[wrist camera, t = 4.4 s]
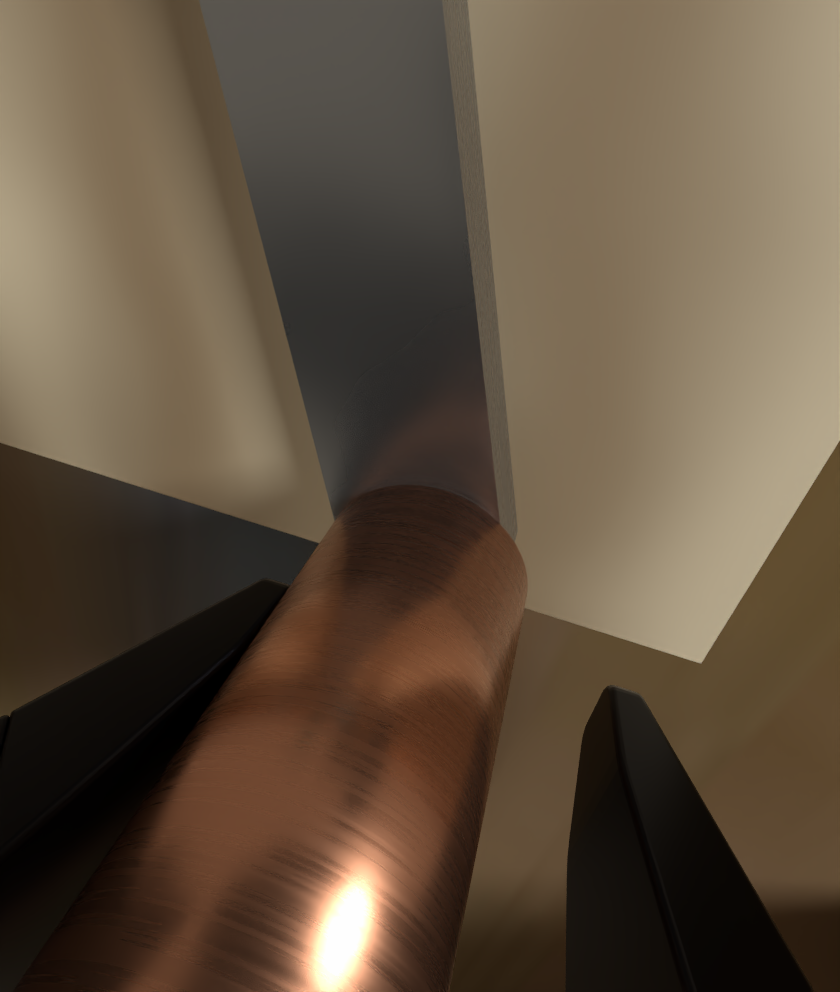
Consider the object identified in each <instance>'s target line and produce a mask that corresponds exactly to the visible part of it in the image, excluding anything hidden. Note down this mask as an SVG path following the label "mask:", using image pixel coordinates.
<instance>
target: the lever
mask: <svg viewBox="0 0 840 992" xmlns="http://www.w3.org/2000/svg"><path fill="white" fill-rule="evenodd" d="M199 2H200V6H201V10H202V14H203V18H204V22H205V25H206V29H207V33H208V37H209V41H210V45H211V48H212V52H213V56H214V60H215V64H216V68H217V71H218V75H219V79H220V83H221V87H222V91H223V95H224V98H225V102H226V106H227V110H228V114H229V118H230V121H231V125H232V129H233V133H234V137H235V141H236V144H237V148H238V152H239V156H240V160H241V164H242V168H243V171H244V175H245V179H246V183H247V187H248V191H249V194H250V198H251V202H252V206H253V210H254V214H255V218H256V221H257V225H258V229H259V233H260V237H261V241H262V244H263V248H264V252H265V256H266V260H267V264H268V267H269V271H270V275H271V279H272V283H273V287H274V291H275V294H276V298H277V302H278V306H279V310H280V314H281V317H282V321H283V325H284V329H285V333H286V337H287V341H288V344H289V348H290V352H291V356H292V360H293V364H294V367H295V371H296V375H297V379H298V383H299V387H300V390H301V394H302V398H303V402H304V406H305V410H306V414H307V417H308V421H309V425H310V429H311V433H312V437H313V440H314V444H315V448H316V452H317V456H318V460H319V463H320V467H321V471H322V475H323V479H324V483H325V487H326V490H327V494H328V498H329V502H330V506H331V510H332V513H333V517H334V523H333V524H332V526H331V527H330V529H329V530H328V531H327V533H326V534H325V536H324V537H323V539H322V540H321V542H320V543H319V545H318V546H317V548H316V549H315V550H314V552H313V553H312V555H311V556H310V558H309V559H308V561H307V562H306V564H305V565H304V567H303V568H302V569H301V571H300V572H299V574H298V575H297V577H296V578H295V580H294V581H293V583H292V584H291V585H290V587H289V588H288V590H287V591H286V593H285V594H284V596H283V597H282V599H281V600H280V602H279V603H278V604H277V606H276V607H275V609H274V610H273V612H272V613H271V615H270V616H269V618H268V619H267V621H266V622H265V623H264V625H263V626H262V628H261V629H260V631H259V632H258V634H257V635H256V637H255V638H254V640H253V641H252V642H251V644H250V645H249V647H248V648H247V650H246V651H245V653H244V654H243V656H242V657H241V658H240V660H239V661H238V663H237V664H236V666H235V667H234V669H233V670H232V672H231V673H230V675H229V676H228V677H227V679H226V680H225V682H224V683H223V685H222V686H221V688H220V689H219V691H218V692H217V694H216V695H215V696H214V698H213V699H212V701H211V702H210V704H209V705H208V707H207V708H206V710H205V711H204V713H203V714H202V715H201V717H200V718H199V720H198V721H197V723H196V724H195V726H194V727H193V729H192V730H191V731H190V733H189V734H188V736H187V737H186V739H185V740H184V742H183V743H182V745H181V746H180V748H179V749H178V750H177V752H176V753H175V755H174V756H173V758H172V759H171V761H170V762H169V764H168V765H167V767H166V768H165V769H164V771H163V772H162V774H161V775H160V777H159V778H158V780H157V781H156V783H155V784H154V786H153V787H152V788H151V790H150V791H149V793H148V794H147V796H146V797H145V799H144V800H143V802H142V803H141V804H140V806H139V807H138V809H137V810H136V812H135V813H134V815H133V816H132V818H131V819H130V821H129V822H128V823H127V825H126V826H125V828H124V829H123V831H122V832H121V834H120V835H119V837H118V838H117V840H116V841H115V842H114V844H113V845H112V847H111V848H110V850H109V851H108V853H107V854H106V856H105V857H104V859H103V860H102V861H101V863H100V864H99V866H98V867H97V869H96V870H95V872H94V873H93V875H92V876H91V878H90V879H89V880H88V882H87V883H86V885H85V886H84V888H83V889H82V891H81V892H80V894H79V895H78V896H77V898H76V899H75V901H74V902H73V904H72V905H71V907H70V908H69V910H68V911H67V913H66V914H65V915H64V917H63V918H62V920H61V921H60V923H59V924H58V926H57V927H56V929H55V930H54V932H53V933H52V934H51V936H50V937H49V939H48V940H47V942H46V943H45V945H44V946H43V948H42V949H41V951H40V952H39V953H38V955H37V956H36V958H35V959H34V961H33V962H32V964H31V965H30V967H29V968H28V969H27V971H26V972H25V974H24V975H23V977H22V978H21V980H20V981H19V983H18V984H17V986H16V987H15V988H14V990H13V991H12V992H449V990H450V985H451V980H452V975H453V970H454V964H455V959H456V954H457V949H458V944H459V939H460V934H461V929H462V924H463V919H464V914H465V908H466V903H467V898H468V893H469V888H470V883H471V878H472V873H473V868H474V863H475V858H476V852H477V847H478V842H479V837H480V832H481V827H482V822H483V817H484V812H485V807H486V802H487V797H488V791H489V786H490V781H491V776H492V771H493V766H494V761H495V756H496V751H497V746H498V741H499V735H500V730H501V725H502V720H503V715H504V710H505V705H506V700H507V695H508V690H509V685H510V679H511V674H512V669H513V664H514V659H515V654H516V649H517V644H518V639H519V634H520V629H521V624H522V618H523V613H524V608H525V603H526V598H527V591H528V578H527V572H526V567H525V564H524V561H523V558H522V555H521V553H520V551H519V549H518V547H517V545H516V544H515V540H516V536H517V532H518V527H517V516H516V506H515V495H514V485H513V474H512V464H511V453H510V443H509V432H508V422H507V411H506V401H505V390H504V379H503V369H502V358H501V348H500V337H499V327H498V316H497V306H496V295H495V285H494V274H493V264H492V253H491V243H490V232H489V222H488V211H487V201H486V190H485V179H484V169H483V158H482V148H481V137H480V127H479V116H478V106H477V95H476V85H475V74H474V64H473V53H472V43H471V32H470V22H469V11H468V0H199Z"/></svg>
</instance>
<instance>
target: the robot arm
mask: <svg viewBox="0 0 840 992" xmlns="http://www.w3.org/2000/svg"><path fill="white" fill-rule="evenodd" d="M289 587H290V585H288V584H285V583H281V582H278V581H275V580H272V579H267V578H265V579H261V580H259V581H257V582H255V583H253V584H251V585H249V586H248V587H246V588H244V589H242V590H240V591H238V592H236V593H234V594H232V595H231V596H229V597H227V598H225V599H223V600H221V601H219V602H217V603H215V604H214V605H212V606H210V607H208V608H206V609H204V610H202V611H200V612H198V613H197V614H195V615H193V616H191V617H189V618H187V619H185V620H183V621H182V622H180V623H178V624H176V625H174V626H172V627H170V628H168V629H166V630H165V631H163V632H161V633H159V634H157V635H155V636H153V637H151V638H149V639H148V640H146V641H144V642H142V643H140V644H138V645H136V646H134V647H132V648H131V649H129V650H127V651H125V652H123V653H121V654H119V655H117V656H116V657H114V658H112V659H110V660H108V661H106V662H104V663H102V664H100V665H99V666H97V667H95V668H93V669H91V670H89V671H87V672H85V673H83V674H82V675H80V676H78V677H76V678H74V679H72V680H70V681H68V682H66V683H65V684H63V685H61V686H59V687H57V688H55V689H53V690H51V691H49V692H48V693H46V694H44V695H42V696H40V697H38V698H36V699H34V700H33V701H31V702H29V703H27V704H25V705H23V706H21V707H19V708H17V709H16V710H14V711H12V713H11V715H10V717H9V716H7V715H4V716H2V717H0V992H12V991H13V990H14V988H15V987H16V986H17V984H18V983H19V981H20V980H21V978H22V977H23V975H24V974H25V972H26V971H27V969H28V968H29V967H30V965H31V964H32V962H33V961H34V959H35V958H36V956H37V955H38V953H39V952H40V951H41V949H42V948H43V946H44V945H45V943H46V942H47V940H48V939H49V937H50V936H51V934H52V933H53V932H54V930H55V929H56V927H57V926H58V924H59V923H60V921H61V920H62V918H63V917H64V915H65V914H66V913H67V911H68V910H69V908H70V907H71V905H72V904H73V902H74V901H75V899H76V898H77V896H78V895H79V894H80V892H81V891H82V889H83V888H84V886H85V885H86V883H87V882H88V880H89V879H90V878H91V876H92V875H93V873H94V872H95V870H96V869H97V867H98V866H99V864H100V863H101V861H102V860H103V859H104V857H105V856H106V854H107V853H108V851H109V850H110V848H111V847H112V845H113V844H114V842H115V841H116V840H117V838H118V837H119V835H120V834H121V832H122V831H123V829H124V828H125V826H126V825H127V823H128V822H129V821H130V819H131V818H132V816H133V815H134V813H135V812H136V810H137V809H138V807H139V806H140V804H141V803H142V802H143V800H144V799H145V797H146V796H147V794H148V793H149V791H150V790H151V788H152V787H153V786H154V784H155V783H156V781H157V780H158V778H159V777H160V775H161V774H162V772H163V771H164V769H165V768H166V767H167V765H168V764H169V762H170V761H171V759H172V758H173V756H174V755H175V753H176V752H177V750H178V749H179V748H180V746H181V745H182V743H183V742H184V740H185V739H186V737H187V736H188V734H189V733H190V731H191V730H192V729H193V727H194V726H195V724H196V723H197V721H198V720H199V718H200V717H201V715H202V714H203V713H204V711H205V710H206V708H207V707H208V705H209V704H210V702H211V701H212V699H213V698H214V696H215V695H216V694H217V692H218V691H219V689H220V688H221V686H222V685H223V683H224V682H225V680H226V679H227V677H228V676H229V675H230V673H231V672H232V670H233V669H234V667H235V666H236V664H237V663H238V661H239V660H240V658H241V657H242V656H243V654H244V653H245V651H246V650H247V648H248V647H249V645H250V644H251V642H252V641H253V640H254V638H255V637H256V635H257V634H258V632H259V631H260V629H261V628H262V626H263V625H264V623H265V622H266V621H267V619H268V618H269V616H270V615H271V613H272V612H273V610H274V609H275V607H276V606H277V604H278V603H279V602H280V600H281V599H282V597H283V596H284V594H285V593H286V591H287V590H288V588H289ZM565 992H813V989H812V987H811V985H810V983H809V982H808V980H807V978H806V976H805V975H804V973H803V971H802V970H801V968H800V966H799V964H798V963H797V961H796V959H795V958H794V956H793V954H792V952H791V951H790V949H789V947H788V946H787V944H786V942H785V940H784V939H783V937H782V935H781V934H780V932H779V930H778V928H777V927H776V925H775V923H774V922H773V920H772V918H771V916H770V915H769V913H768V911H767V910H766V908H765V906H764V904H763V903H762V901H761V899H760V898H759V896H758V894H757V892H756V891H755V889H754V887H753V886H752V884H751V882H750V880H749V879H748V877H747V875H746V874H745V872H744V870H743V868H742V867H741V865H740V863H739V862H738V860H737V858H736V856H735V855H734V853H733V851H732V850H731V848H730V846H729V844H728V843H727V841H726V839H725V838H724V836H723V834H722V832H721V831H720V829H719V827H718V826H717V824H716V822H715V820H714V819H713V817H712V815H711V814H710V812H709V810H708V808H707V807H706V805H705V803H704V802H703V800H702V798H701V796H700V795H699V793H698V791H697V790H696V788H695V786H694V784H693V783H692V781H691V779H690V778H689V776H688V774H687V772H686V771H685V769H684V767H683V766H682V764H681V762H680V760H679V759H678V757H677V755H676V754H675V752H674V750H673V748H672V747H671V745H670V743H669V742H668V740H667V738H666V736H665V735H664V733H663V731H662V730H661V728H660V726H659V724H658V723H657V721H656V719H655V718H654V716H653V714H652V712H651V711H650V709H649V707H648V706H647V704H646V702H645V700H644V699H643V697H642V696H641V695H640V694H638V693H636V692H634V691H631V690H627V689H624V688H621V687H618V686H614V685H610V686H607V687H606V688H605V689H604V691H603V692H602V694H601V696H600V698H599V700H598V702H597V704H596V706H595V708H594V710H593V712H592V714H591V716H590V718H589V720H588V722H587V724H586V727H585V730H584V734H583V738H582V744H581V752H580V760H579V767H578V775H577V783H576V791H575V799H574V807H573V815H572V823H571V831H570V839H569V848H568V860H567V903H566V989H565Z"/></svg>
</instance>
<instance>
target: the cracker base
mask: <svg viewBox="0 0 840 992" xmlns="http://www.w3.org/2000/svg"><path fill="white" fill-rule="evenodd" d="M468 11H469V22H470V32H471V43H472V53H473V64H474V74H475V85H476V95H477V106H478V116H479V127H480V137H481V148H482V158H483V169H484V179H485V190H486V201H487V211H488V222H489V232H490V243H491V253H492V264H493V274H494V285H495V295H496V306H497V316H498V327H499V337H500V348H501V358H502V369H503V379H504V390H505V401H506V411H507V422H508V432H509V443H510V453H511V464H512V474H513V485H514V495H515V506H516V516H517V527H518V532H517V536H516V540H515V544H516V545H517V547H518V549H519V551H520V553H521V555H522V558H523V561H524V564H525V567H526V572H527V578H528V591H527V598H526V603H525V608H526V609H530V610H533V611H536V612H539V613H542V614H545V615H549V616H552V617H555V618H558V619H561V620H564V621H568V622H571V623H574V624H577V625H580V626H584V627H587V628H590V629H593V630H596V631H599V632H603V633H606V634H609V635H612V636H615V637H618V638H622V639H625V640H628V641H631V642H634V643H637V644H641V645H644V646H647V647H650V648H653V649H657V650H660V651H663V652H666V653H669V654H672V655H676V656H679V657H682V658H685V659H688V660H691V661H695V662H698V663H702V661H703V660H704V658H705V656H706V655H707V653H708V652H709V650H710V648H711V647H712V645H713V643H714V642H715V640H716V639H717V637H718V635H719V634H720V632H721V631H722V629H723V627H724V626H725V624H726V623H727V621H728V619H729V618H730V616H731V614H732V613H733V611H734V610H735V608H736V606H737V605H738V603H739V602H740V600H741V598H742V597H743V595H744V594H745V592H746V590H747V589H748V587H749V585H750V584H751V582H752V581H753V579H754V577H755V576H756V574H757V573H758V571H759V569H760V568H761V566H762V565H763V563H764V561H765V560H766V558H767V556H768V555H769V553H770V552H771V550H772V548H773V547H774V545H775V544H776V542H777V540H778V539H779V537H780V536H781V534H782V532H783V531H784V529H785V527H786V526H787V524H788V523H789V521H790V519H791V518H792V516H793V515H794V513H795V511H796V510H797V508H798V507H799V505H800V503H801V502H802V500H803V498H804V497H805V495H806V494H807V492H808V490H809V489H810V487H811V486H812V484H813V482H814V481H815V479H816V478H817V476H818V474H819V473H820V471H821V469H822V468H823V466H824V465H825V463H826V461H827V460H828V458H829V457H830V455H831V453H832V452H833V450H834V449H835V447H836V445H837V444H838V442H839V440H840V0H468ZM0 443H3V444H6V445H9V446H12V447H15V448H18V449H22V450H25V451H28V452H31V453H34V454H37V455H41V456H44V457H47V458H50V459H53V460H56V461H60V462H63V463H66V464H69V465H72V466H76V467H79V468H82V469H85V470H88V471H91V472H95V473H98V474H101V475H104V476H107V477H110V478H114V479H117V480H120V481H123V482H126V483H130V484H133V485H136V486H139V487H142V488H145V489H149V490H152V491H155V492H158V493H161V494H164V495H168V496H171V497H174V498H177V499H180V500H183V501H187V502H190V503H193V504H196V505H199V506H203V507H206V508H209V509H212V510H215V511H218V512H222V513H225V514H228V515H231V516H234V517H237V518H241V519H244V520H247V521H250V522H253V523H256V524H260V525H263V526H266V527H269V528H272V529H276V530H279V531H282V532H285V533H288V534H291V535H295V536H298V537H301V538H304V539H307V540H310V541H314V542H317V543H320V542H321V540H322V539H323V537H324V536H325V534H326V533H327V531H328V530H329V529H330V527H331V526H332V524H333V523H334V517H333V513H332V510H331V506H330V502H329V498H328V494H327V490H326V487H325V483H324V479H323V475H322V471H321V467H320V463H319V460H318V456H317V452H316V448H315V444H314V440H313V437H312V433H311V429H310V425H309V421H308V417H307V414H306V410H305V406H304V402H303V398H302V394H301V390H300V387H299V383H298V379H297V375H296V371H295V367H294V364H293V360H292V356H291V352H290V348H289V344H288V341H287V337H286V333H285V329H284V325H283V321H282V317H281V314H280V310H279V306H278V302H277V298H276V294H275V291H274V287H273V283H272V279H271V275H270V271H269V267H268V264H267V260H266V256H265V252H264V248H263V244H262V241H261V237H260V233H259V229H258V225H257V221H256V218H255V214H254V210H253V206H252V202H251V198H250V194H249V191H248V187H247V183H246V179H245V175H244V171H243V168H242V164H241V160H240V156H239V152H238V148H237V144H236V141H235V137H234V133H233V129H232V125H231V121H230V118H229V114H228V110H227V106H226V102H225V98H224V95H223V91H222V87H221V83H220V79H219V75H218V71H217V68H216V64H215V60H214V56H213V52H212V48H211V45H210V41H209V37H208V33H207V29H206V25H205V22H204V18H203V14H202V10H201V6H200V2H199V0H0Z"/></svg>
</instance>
